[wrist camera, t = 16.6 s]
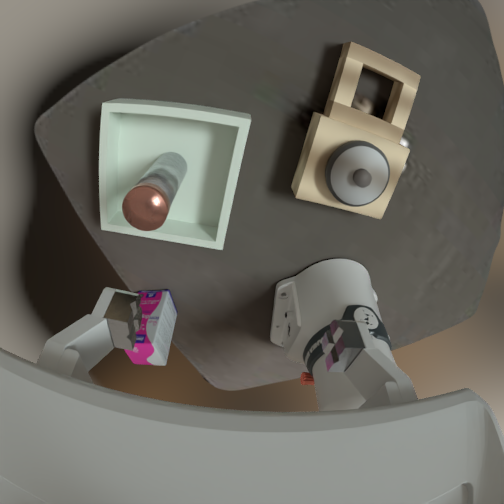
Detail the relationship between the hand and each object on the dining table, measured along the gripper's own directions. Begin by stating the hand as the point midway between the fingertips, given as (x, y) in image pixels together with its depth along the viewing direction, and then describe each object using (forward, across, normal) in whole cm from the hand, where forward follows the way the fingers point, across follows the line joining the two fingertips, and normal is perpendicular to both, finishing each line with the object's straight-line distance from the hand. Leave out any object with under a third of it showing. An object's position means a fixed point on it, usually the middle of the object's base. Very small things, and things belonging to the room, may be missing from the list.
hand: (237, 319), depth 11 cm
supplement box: (+26, -10, -27) cm, 38 cm away
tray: (+25, -8, -3) cm, 27 cm away
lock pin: (+24, -8, -3) cm, 26 cm away
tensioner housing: (+25, +13, +7) cm, 29 cm away
